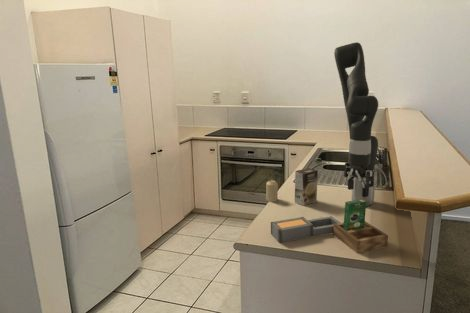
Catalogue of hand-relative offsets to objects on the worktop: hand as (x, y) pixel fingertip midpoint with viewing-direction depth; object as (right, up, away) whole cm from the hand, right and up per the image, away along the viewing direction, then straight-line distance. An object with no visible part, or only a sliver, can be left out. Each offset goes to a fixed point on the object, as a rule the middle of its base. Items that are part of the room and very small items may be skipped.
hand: (357, 192), depth 133 cm
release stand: (-17, -17, +9) cm, 26 cm away
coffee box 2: (0, -16, +5) cm, 17 cm away
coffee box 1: (-11, -9, +40) cm, 43 cm away
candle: (-27, -8, +45) cm, 53 cm away
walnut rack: (+1, -18, +1) cm, 18 cm away
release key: (-24, -17, +7) cm, 30 cm away
